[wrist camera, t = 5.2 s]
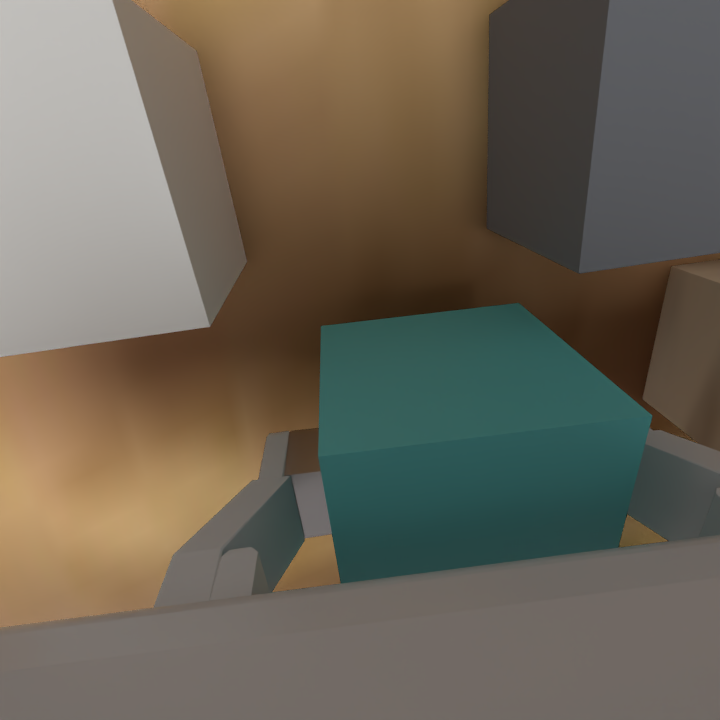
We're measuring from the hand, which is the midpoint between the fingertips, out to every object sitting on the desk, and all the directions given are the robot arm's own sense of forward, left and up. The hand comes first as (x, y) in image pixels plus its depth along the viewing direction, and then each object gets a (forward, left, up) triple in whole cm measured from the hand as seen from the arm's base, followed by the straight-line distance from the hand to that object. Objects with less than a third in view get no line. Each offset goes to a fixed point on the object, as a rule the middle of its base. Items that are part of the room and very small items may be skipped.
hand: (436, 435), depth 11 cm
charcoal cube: (-5, -6, -4) cm, 9 cm away
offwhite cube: (+7, -6, -4) cm, 10 cm away
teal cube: (0, 0, -2) cm, 2 cm away
